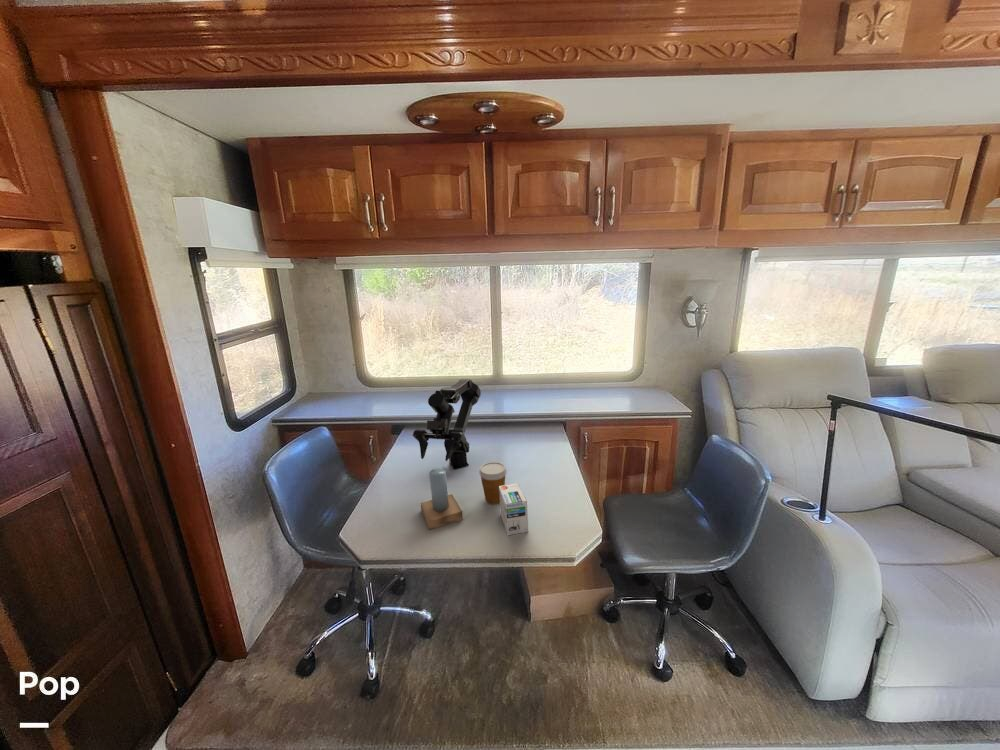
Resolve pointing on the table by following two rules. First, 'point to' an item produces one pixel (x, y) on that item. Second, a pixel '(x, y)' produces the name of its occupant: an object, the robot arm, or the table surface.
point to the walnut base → (441, 513)
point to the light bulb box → (513, 509)
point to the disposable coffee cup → (492, 480)
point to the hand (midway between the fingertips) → (434, 459)
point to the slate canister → (439, 489)
